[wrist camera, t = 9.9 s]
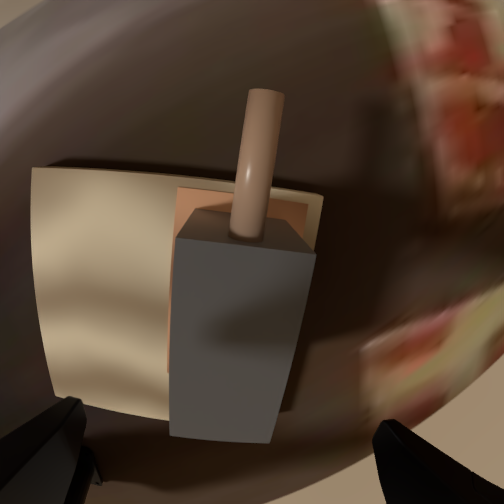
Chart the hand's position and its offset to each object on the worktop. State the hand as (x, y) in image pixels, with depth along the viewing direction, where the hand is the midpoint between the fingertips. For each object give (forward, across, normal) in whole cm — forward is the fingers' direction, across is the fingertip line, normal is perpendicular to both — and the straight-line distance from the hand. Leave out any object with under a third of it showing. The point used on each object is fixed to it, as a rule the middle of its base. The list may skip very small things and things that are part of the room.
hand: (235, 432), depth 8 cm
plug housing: (+10, 0, -2) cm, 10 cm away
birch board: (+11, +4, +2) cm, 12 cm away
